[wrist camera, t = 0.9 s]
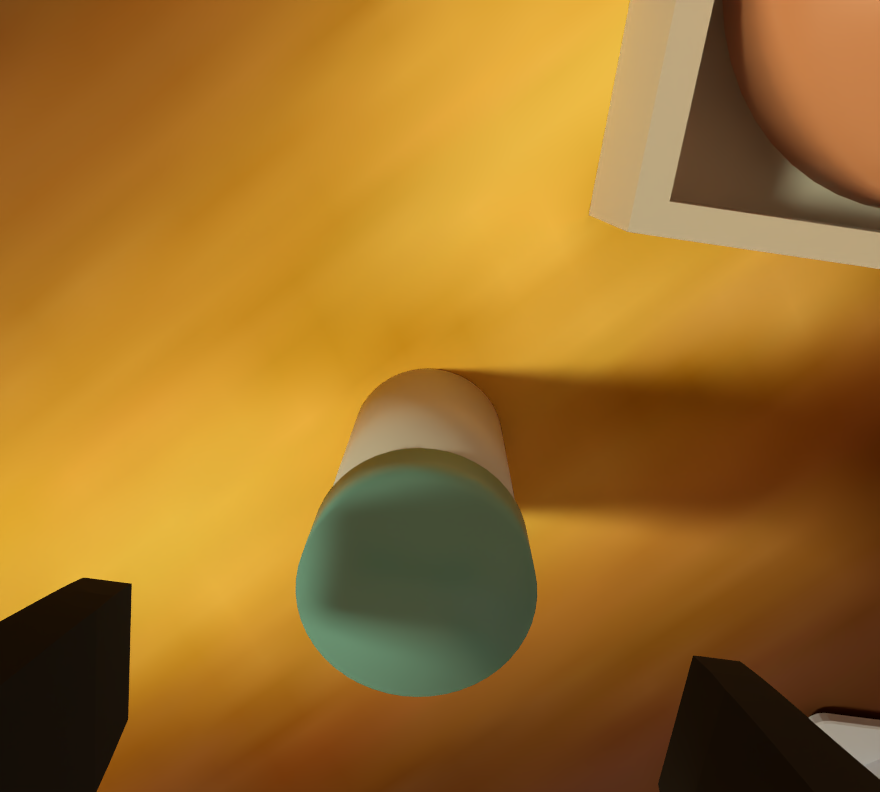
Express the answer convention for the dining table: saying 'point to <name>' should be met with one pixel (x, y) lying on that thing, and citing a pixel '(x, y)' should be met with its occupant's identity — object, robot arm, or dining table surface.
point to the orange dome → (814, 85)
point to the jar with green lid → (419, 544)
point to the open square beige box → (709, 151)
